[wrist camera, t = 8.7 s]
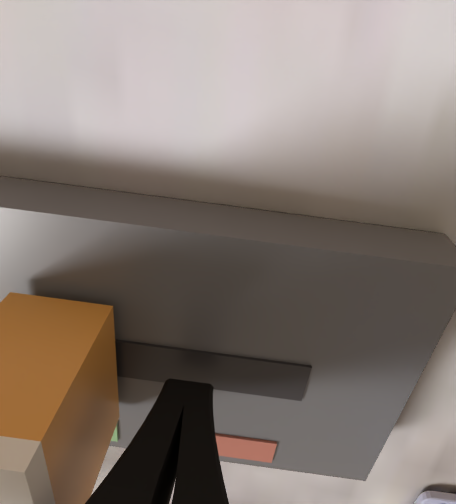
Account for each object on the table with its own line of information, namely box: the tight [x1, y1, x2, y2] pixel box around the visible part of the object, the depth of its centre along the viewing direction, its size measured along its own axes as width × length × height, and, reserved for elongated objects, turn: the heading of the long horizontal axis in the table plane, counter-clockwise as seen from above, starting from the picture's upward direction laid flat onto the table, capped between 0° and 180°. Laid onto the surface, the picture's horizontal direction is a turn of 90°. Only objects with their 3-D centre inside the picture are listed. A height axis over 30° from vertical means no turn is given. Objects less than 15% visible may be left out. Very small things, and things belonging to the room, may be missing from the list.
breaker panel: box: [0, 176, 456, 481], centre depth 13 cm, size 16×10×2 cm, turn 84°
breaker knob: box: [0, 292, 120, 504], centre depth 10 cm, size 3×5×5 cm, turn 174°
